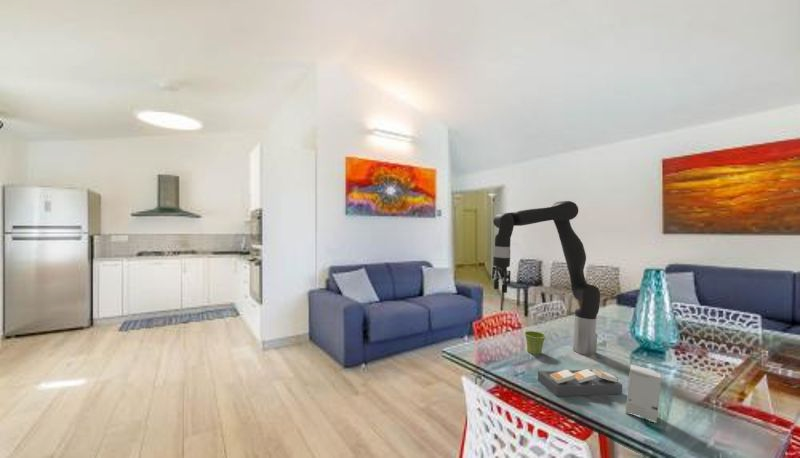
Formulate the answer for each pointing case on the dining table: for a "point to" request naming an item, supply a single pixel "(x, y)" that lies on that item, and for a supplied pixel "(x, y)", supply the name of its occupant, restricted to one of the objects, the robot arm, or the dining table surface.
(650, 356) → the dining table surface
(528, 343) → the plant pot
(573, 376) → the rocker
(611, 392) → the power strip
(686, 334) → the dining table surface
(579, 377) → the rocker
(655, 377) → the skincare box
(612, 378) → the rocker
